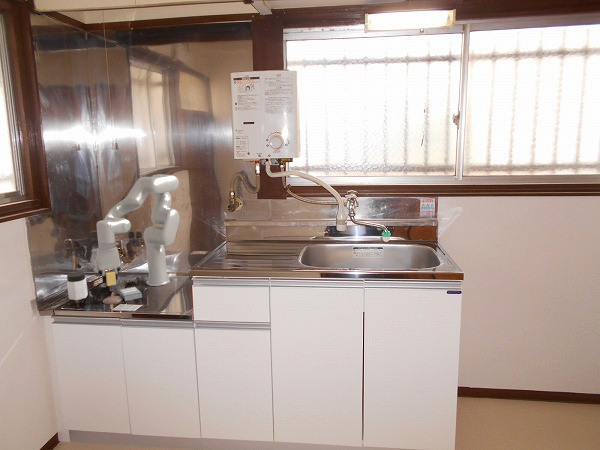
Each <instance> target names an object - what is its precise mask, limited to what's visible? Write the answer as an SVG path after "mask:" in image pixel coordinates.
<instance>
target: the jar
mask: <svg viewBox="0 0 600 450" xmlns="http://www.w3.org/2000/svg"><path fill="white" fill-rule="evenodd" d="M66 280H67V281H66V286H67V295H68V300H71V301H79V300H82V299H86V298H87V296H88V295H89V292H88V285H87V278H86V274H85V272H83V271H79V272H78V271H77V272H71V273H69V274H67V275H66Z"/></svg>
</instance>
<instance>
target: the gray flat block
mask: <svg viewBox="0 0 600 450" xmlns="http://www.w3.org/2000/svg"><path fill="white" fill-rule="evenodd" d="M118 291H119V293H118V294H119V295H120V296H121V297H122V299H123V300H124V301H125V302H128V301H133V300H137V299H141V298H143V294H142V292H141V291H140V290H139V289H138V288H137V287H136V286H132V287H127V288H126V287H125V288H120V289H119V290H118Z"/></svg>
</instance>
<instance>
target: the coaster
mask: <svg viewBox="0 0 600 450" xmlns="http://www.w3.org/2000/svg"><path fill="white" fill-rule="evenodd" d="M123 300H124V299H123V298H122V296H121V295H120V296H119V295H113V296H108V297H104V299H103V300H102V303H103V304H104V305H115V304H118V303H121V302H122V301H123Z"/></svg>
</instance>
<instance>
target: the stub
mask: <svg viewBox="0 0 600 450" xmlns="http://www.w3.org/2000/svg"><path fill="white" fill-rule="evenodd" d="M105 276H106V282H107V283H106V284H105V285H106V286H107V287H111V286H115V285H117V282H116V275H115V272H114V270H113V269H109V270H105Z"/></svg>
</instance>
